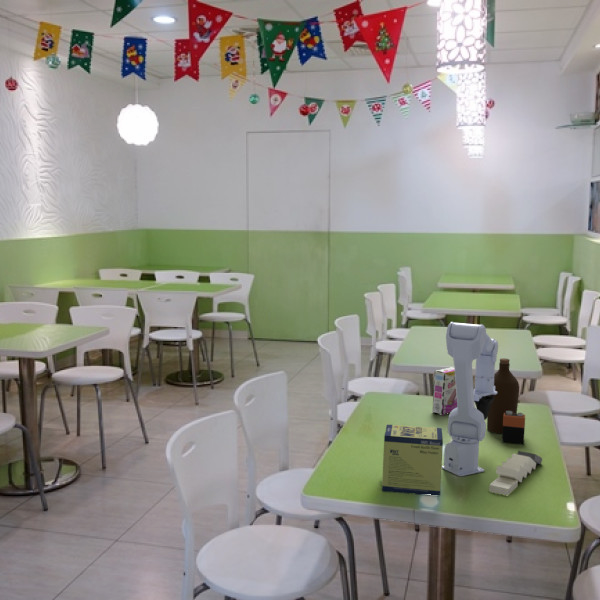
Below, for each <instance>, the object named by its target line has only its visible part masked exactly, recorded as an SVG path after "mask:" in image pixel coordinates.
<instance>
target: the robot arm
mask: <svg viewBox="0 0 600 600" xmlns="http://www.w3.org/2000/svg"><path fill="white" fill-rule="evenodd" d="M445 334H446V335H445V340H446V351H447V354H448V355H449V356H450V357H451V358H452V359H453V360H452V361H453V367H454V369H455V382H456V395H457V407H456V408H455V409H453V410H452V411H451V413H449V415H448V419H447V420H448V422H447V433H448V435H449V436H450V437H451V441H450V442H448V443H447V444H445V446H444V455H443V456H444V457H443V465H442V470H445V471H448V472H450V473H452V474H454V475H456V476H457V477H465V476H469V475H473V474H479V473H483V472H485V468H482V467H480V466H479V453H480V452H479V451H480V449H479V447H480V442H482V441H483V440H484V439H485V436H486V430H487V422H486V421H487V416H488V413H489V409H490V406H491V404H492V402H493V400H494V399H495V397H494V396H490V395H492V394H494V395H496V394H497V391H495V386H494V374H495V373H496V372H495V371H496V369H495V368H496V362H497V357H498V356H497V355H498V351H499V342H498V340H496V339H495V338H491V337H490V336H489V334H488V333H487V328H486V327H485V325H484V324H482V323H481V324H473V323H462V322H454V321H450V323H449V324H448V325H447V329H446V332H445ZM473 361H475V374H474V373H473ZM473 374H474V375H475V377H474V376H473ZM485 420H486V421H485Z"/></svg>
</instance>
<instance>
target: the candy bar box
mask: <svg viewBox="0 0 600 600" xmlns="http://www.w3.org/2000/svg"><path fill="white" fill-rule="evenodd" d="M433 377H434V379H433V395H432V412H434V413H433V414H435V413H438V414H441V415H440V416H445V415H444V414H446V415H448V414H447V413H449V414H450V412H451V411H452V410H453V409H455V408H456V407H457V395H456V382H455V369H454V366H450V367H447V368H441V369H437V370H434V376H433ZM438 414H437V415H438Z"/></svg>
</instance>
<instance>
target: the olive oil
mask: <svg viewBox="0 0 600 600" xmlns="http://www.w3.org/2000/svg"><path fill="white" fill-rule="evenodd" d="M510 363H511V362H510V359H509V358H500V359H499V363H498V365H499V367H498V368H499V369H498V370H497V371H496V372H495V373H494V386H495V391H497V394H496V395H494V394H492V395H490V396H494V397H495V399H494V400H493V402H492V404H491V406H490V409H489V413H488V416H487V419H486V421H487V422H486V430H488V431H489V432H491V433H494V434H500V435H502V432H503V415H504V413H506V411H512V413H516V414H518V406H519V405H518V404H519V398H520V397H519V396H520V384H519V383H520V382H519V380H518V379H517V378H516V376H515V375H514V374H513V373H512V372H511V370H510Z"/></svg>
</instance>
